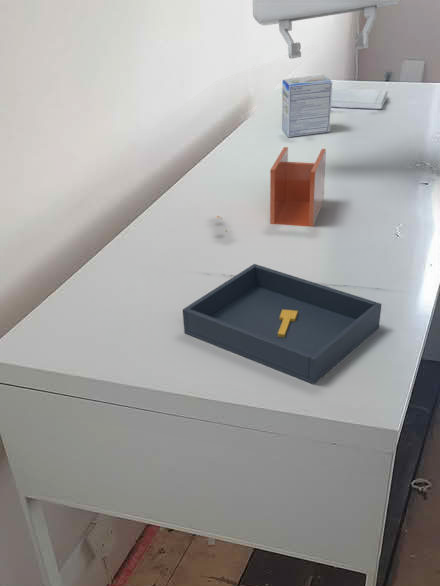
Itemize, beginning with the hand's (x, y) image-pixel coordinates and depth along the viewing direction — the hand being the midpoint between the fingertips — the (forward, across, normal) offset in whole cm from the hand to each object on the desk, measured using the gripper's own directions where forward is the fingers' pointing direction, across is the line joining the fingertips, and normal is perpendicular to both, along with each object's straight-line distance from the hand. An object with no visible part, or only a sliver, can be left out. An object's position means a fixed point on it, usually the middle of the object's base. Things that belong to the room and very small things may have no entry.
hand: (328, 53), depth 100 cm
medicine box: (+10, -9, +28) cm, 31 cm away
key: (+29, 0, -37) cm, 47 cm away
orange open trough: (+21, -4, -7) cm, 22 cm away
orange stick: (+21, -14, -13) cm, 28 cm away
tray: (+30, 0, -37) cm, 48 cm away
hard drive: (+5, -3, +47) cm, 47 cm away
